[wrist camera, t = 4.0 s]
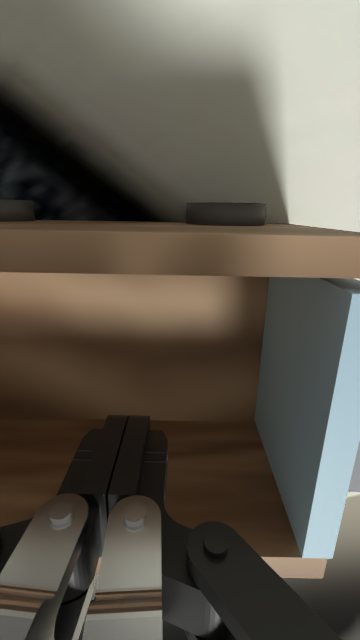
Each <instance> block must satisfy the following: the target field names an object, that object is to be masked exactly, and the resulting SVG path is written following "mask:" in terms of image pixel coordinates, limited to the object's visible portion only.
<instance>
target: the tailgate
mask: <svg viewBox="0 0 360 640" xmlns="http://www.w3.org/2000/svg"><path fill="white" fill-rule="evenodd" d="M254 420H255V423H256V426H257V429H258V432H259V435H260V438H261V440H262V443H263V446H264V449H265V452H266V455H267V458H268V461H269V464H270V467H271V469H272V472H273V475H274V478H275V481H276V484H277V487H278V490H279V493H280V495H281V498H282V501H283V504H284V507H285V510H286V513H287V516H288V519H289V522H290V524H291V527H292V530H293V533H294V536H295V539H296V542H297V545H298V548H299V551H300V553H301V556H302V558H327V559H329V558H330V559H332V557H333V553H334V549H335V545H336V540H337V536H338V532H339V527H340V523H341V519H342V515H343V510H344V506H345V502H346V497H347V493H348V492H360V281H358V280H356V279H353V278H308V277H269V286H268V295H267V305H266V314H265V324H264V333H263V343H262V352H261V362H260V371H259V381H258V390H257V400H256V409H255V419H254Z"/></svg>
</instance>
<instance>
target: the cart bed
mask: <svg viewBox="0 0 360 640" xmlns="http://www.w3.org/2000/svg"><path fill="white" fill-rule="evenodd" d="M265 212H266V204H257V203H187V206H186V222H136V221H77V220H36V219H35V211H34V203H33V201H30V200H9V199H0V527H2V526H6V525H10V524H13V523H17V522H21V521H25V520H28V519H30V518H33V517H34V515H35V514H36V512H37V510H38V509H39V508H40V507H41V506H42V505H43V504H44V503H45V502H46V501H48V500H49V499H51V498H53V497H55V496H56V495H57V493H58V491H59V488H60V486H61V484H62V482H63V480H64V477H65V475H66V473H67V471H68V469H69V466H70V464H71V462H72V461H73V458H74V455H75V453H76V451H77V449H78V447H79V444H80V442H81V440H82V438H83V437H84V436H85V435H86V434H87V433H88V432H89V431H90V430H92V429H103V427H104V424H105V422H106V419H107V416H108V415H129V416H130V415H144V416H150V430H163V432H164V434H165V436H166V438H167V440H168V463H167V486H166V503H165V510H166V512H167V513H168V515H169V516H170V517H171V518H172V519H173V520H174V521H176V522H177V523H179V524H181V525H183V526H186V527H189V528H191V529H194V528H195V527H196V526H198V525H199V524H201V523H204V522H208V521H216V522H221V523H224V524H226V525H228V526H230V527H231V528H233V529H234V530H235V531H236V532H237V533H238V534H239V535H240V536H241V537H242V538H243V539H244V540H245V541H246V542H247V543H248V544H249V545H250V546H251V547H252V548H253V550H254V551H255V552H256V553H257V554H258V555H259V556H260V557H261V558H262V559H263V560H264V561H265V562H266V563H267V564H268V565H269V566H270V567H271V568H272V569H273V570H274V571H275V572H276V573H277V574H278V575H279V576H280V577H281V578H323V576H324V571H325V567H326V562H327V558H302V556H301V553H300V551H299V548H298V545H297V542H296V539H295V536H294V533H293V530H292V527H291V524H290V522H289V519H288V516H287V513H286V510H285V507H284V504H283V501H282V498H281V495H280V493H279V490H278V487H277V484H276V481H275V478H274V475H273V472H272V469H271V467H270V464H269V461H268V458H267V455H266V452H265V449H264V446H263V443H262V440H261V438H260V435H259V432H258V429H257V426H256V423H255V420H254V419H255V409H256V400H257V390H258V381H259V371H260V362H261V352H262V343H263V333H264V324H265V314H266V305H267V295H268V286H269V277H308V278H360V232H351V231H343V230H335V229H326V228H318V227H310V226H301V225H293V224H264V223H265ZM101 559H102V557H99V560H98V564H97V568H96V572H95V574H99V571H100V565H101Z"/></svg>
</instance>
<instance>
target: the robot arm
mask: <svg viewBox="0 0 360 640" xmlns="http://www.w3.org/2000/svg"><path fill="white" fill-rule="evenodd" d="M167 463H168V440H167V438H166V436H165V434H164V432H163V430H150V416H144V415H130V416H129V415H108V416H107V419H106V422H105V424H104V427H103V429H92V430H90V431H89V432H88V433H87V434H86V435H85V436H84V437H83V438H82V440H81V442H80V444H79V447H78V449H77V451H76V453H75V455H74V458H73V461H72V462H71V464H70V466H69V469H68V471H67V473H66V475H65V477H64V480H63V482H62V484H61V486H60V488H59V491H58V493H57V495H56V496H55V497H53V498H51V499H49V500H48V501H46V502H45V503H44V504H43V505H42V506H41V507H40V508H39V509H38V510H37V512H36V514H35V515H34V517H33V518H30V519H28V520H25V521H21V522H17V523H13V524H10V525H6V526H2V527H0V640H78V638H79V635H80V631H81V628H82V625H83V621H84V619H85V615H86V612H87V609H88V612H87V617H86V622H85V628H84V633H83V639H82V640H162V619H163V620H165V621H167V622H169V623H171V624H173V625H176V626H178V627H180V628H182V629H184V630H185V632H186V635H187V637H188V639H189V640H342V639H340V637H339V636H338V635H337V634H336V633H335V632H334V631H333V630H332V629H331V628H330V627H329V626H328V625H327V624H326V623H325V622H324V621H323V620H322V619H321V618H320V617H319V616H318V615H317V614H316V613H315V612H314V611H313V610H312V609H311V608H310V607H309V606H308V605H307V604H306V603H305V602H304V601H303V600H302V599H301V598H300V597H299V595H297V593H296V592H295V591H294V590H293V589H292V588H291V587H290V586H289V585H288V584H287V583H286V582H285V581H284V580H283V579H282V578H281V577H280V576H279V575H278V574H277V573H276V572H275V571H274V570H273V569H272V568H271V567H270V566H269V565H268V564H267V563H266V562H265V561H264V560H263V559H262V558H261V557H260V556H259V555H258V554H257V553H256V552H255V551H254V550H253V548H252V547H251V546H250V545H249V544H248V543H247V542H246V541H245V540H244V539H243V538H242V537H241V536H240V535H239V534H238V533H237V532H236V531H235V530H234V529H233V528H231V527H230V526H228V525H226V524H224V523H221V522H216V521H208V522H204V523H201V524H199V525H198V526H196V527H195V528H194V529H191V528H189V527H186V526H183V525H181V524H179V523H177V522H176V521H174V520H173V519H172V518H171V517H170V516H169V515H168V513H167V512H166V510H165V503H166V486H167ZM99 557H102V559H101V565H100V571H99V577H98V583H97V589H96V594H95V598H94V600H92V601H91V602H90V599H91V596H92V593H93V589H94V584H95V580H94V576H95V572H96V568H97V564H98V560H99ZM89 602H90V605H89ZM88 605H89V608H88Z"/></svg>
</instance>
